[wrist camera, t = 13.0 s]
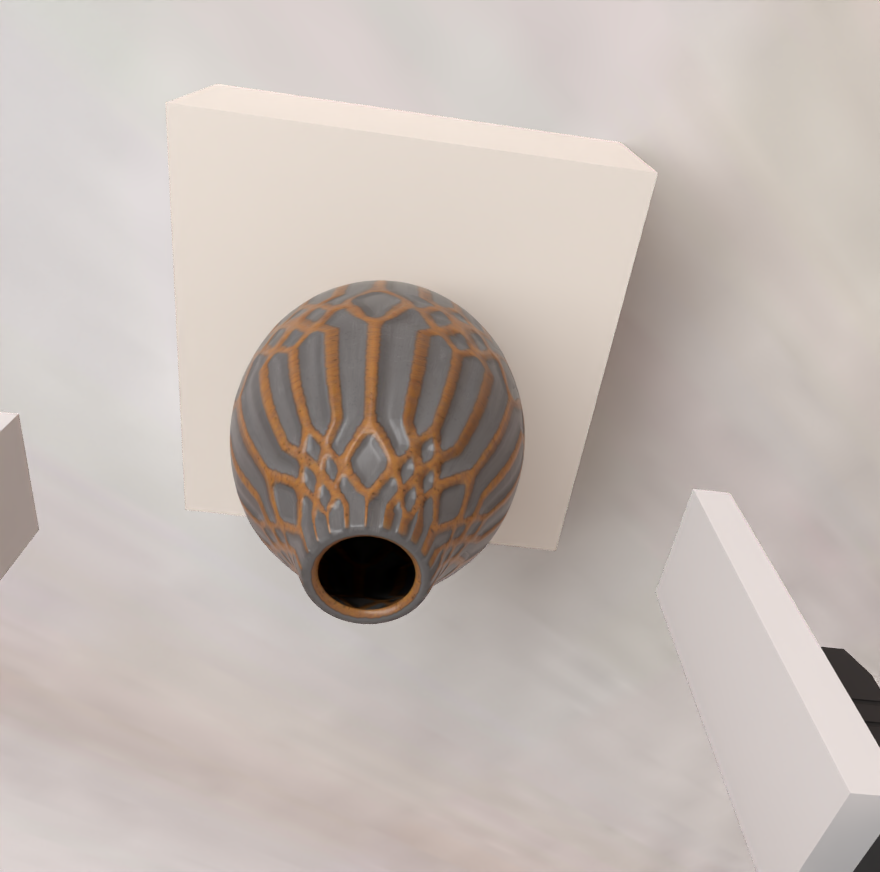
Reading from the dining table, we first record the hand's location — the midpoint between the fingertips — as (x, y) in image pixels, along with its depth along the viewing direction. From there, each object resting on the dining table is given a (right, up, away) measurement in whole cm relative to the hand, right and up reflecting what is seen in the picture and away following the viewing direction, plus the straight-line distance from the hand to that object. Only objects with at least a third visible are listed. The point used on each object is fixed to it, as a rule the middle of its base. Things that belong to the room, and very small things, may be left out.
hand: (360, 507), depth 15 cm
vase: (0, +3, +6) cm, 7 cm away
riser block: (0, +6, +10) cm, 12 cm away
